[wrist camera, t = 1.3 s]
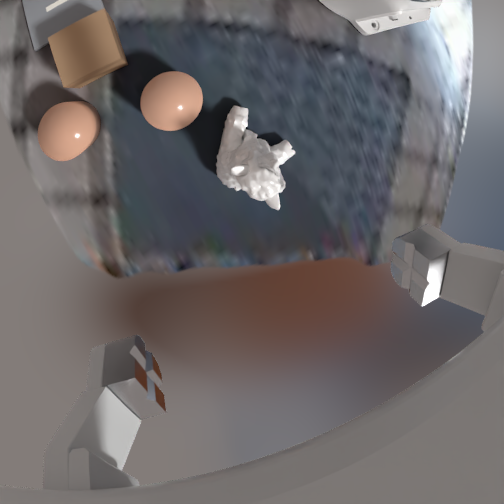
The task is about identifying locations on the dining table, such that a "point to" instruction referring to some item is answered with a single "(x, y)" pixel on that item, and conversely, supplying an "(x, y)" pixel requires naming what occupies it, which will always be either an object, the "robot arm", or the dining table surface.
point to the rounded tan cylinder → (171, 101)
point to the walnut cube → (87, 50)
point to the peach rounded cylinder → (68, 129)
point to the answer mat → (55, 16)
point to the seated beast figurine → (251, 160)
